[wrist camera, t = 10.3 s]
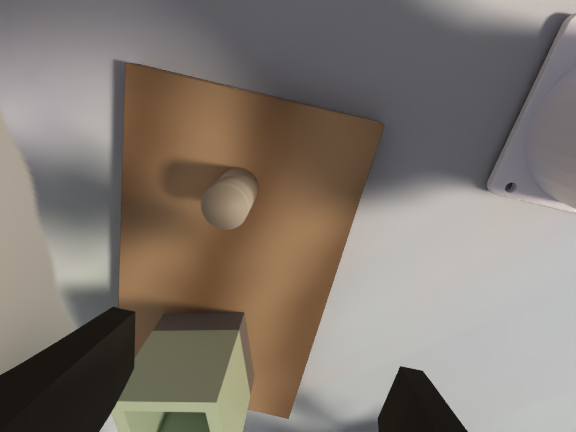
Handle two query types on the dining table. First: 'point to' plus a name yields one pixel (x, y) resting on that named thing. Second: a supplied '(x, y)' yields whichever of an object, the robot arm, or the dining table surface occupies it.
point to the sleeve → (190, 376)
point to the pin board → (267, 236)
